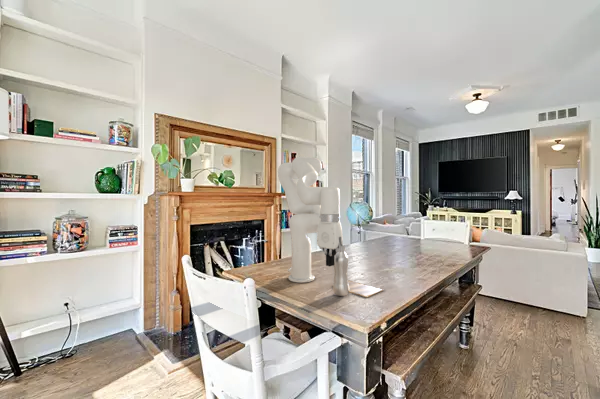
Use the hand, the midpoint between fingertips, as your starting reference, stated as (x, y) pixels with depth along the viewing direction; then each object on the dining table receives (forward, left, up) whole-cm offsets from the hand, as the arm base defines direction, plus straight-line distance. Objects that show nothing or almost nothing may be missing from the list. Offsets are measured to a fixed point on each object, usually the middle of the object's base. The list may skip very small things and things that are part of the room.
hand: (330, 265), depth 110 cm
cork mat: (0, +17, -13) cm, 22 cm away
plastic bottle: (0, +6, -13) cm, 15 cm away
